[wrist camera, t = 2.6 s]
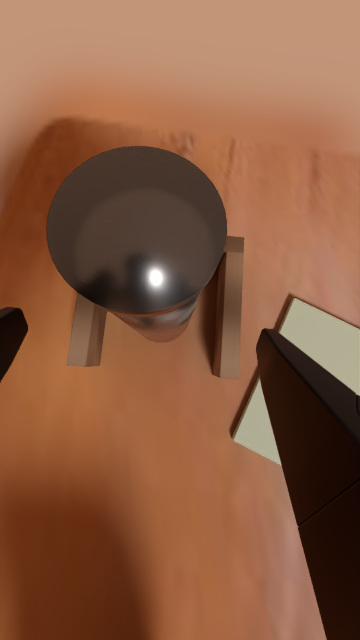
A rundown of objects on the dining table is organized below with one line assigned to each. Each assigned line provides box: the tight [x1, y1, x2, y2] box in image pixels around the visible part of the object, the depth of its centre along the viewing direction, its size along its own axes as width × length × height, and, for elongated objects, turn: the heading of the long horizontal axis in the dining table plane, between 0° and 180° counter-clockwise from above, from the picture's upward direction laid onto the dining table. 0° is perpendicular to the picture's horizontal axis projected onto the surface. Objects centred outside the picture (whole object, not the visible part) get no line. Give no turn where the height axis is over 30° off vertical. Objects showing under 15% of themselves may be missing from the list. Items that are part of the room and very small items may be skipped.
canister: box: [47, 146, 227, 342], centre depth 13 cm, size 5×5×13 cm
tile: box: [232, 298, 360, 466], centre depth 18 cm, size 12×12×1 cm
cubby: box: [67, 236, 244, 379], centre depth 18 cm, size 10×11×3 cm
